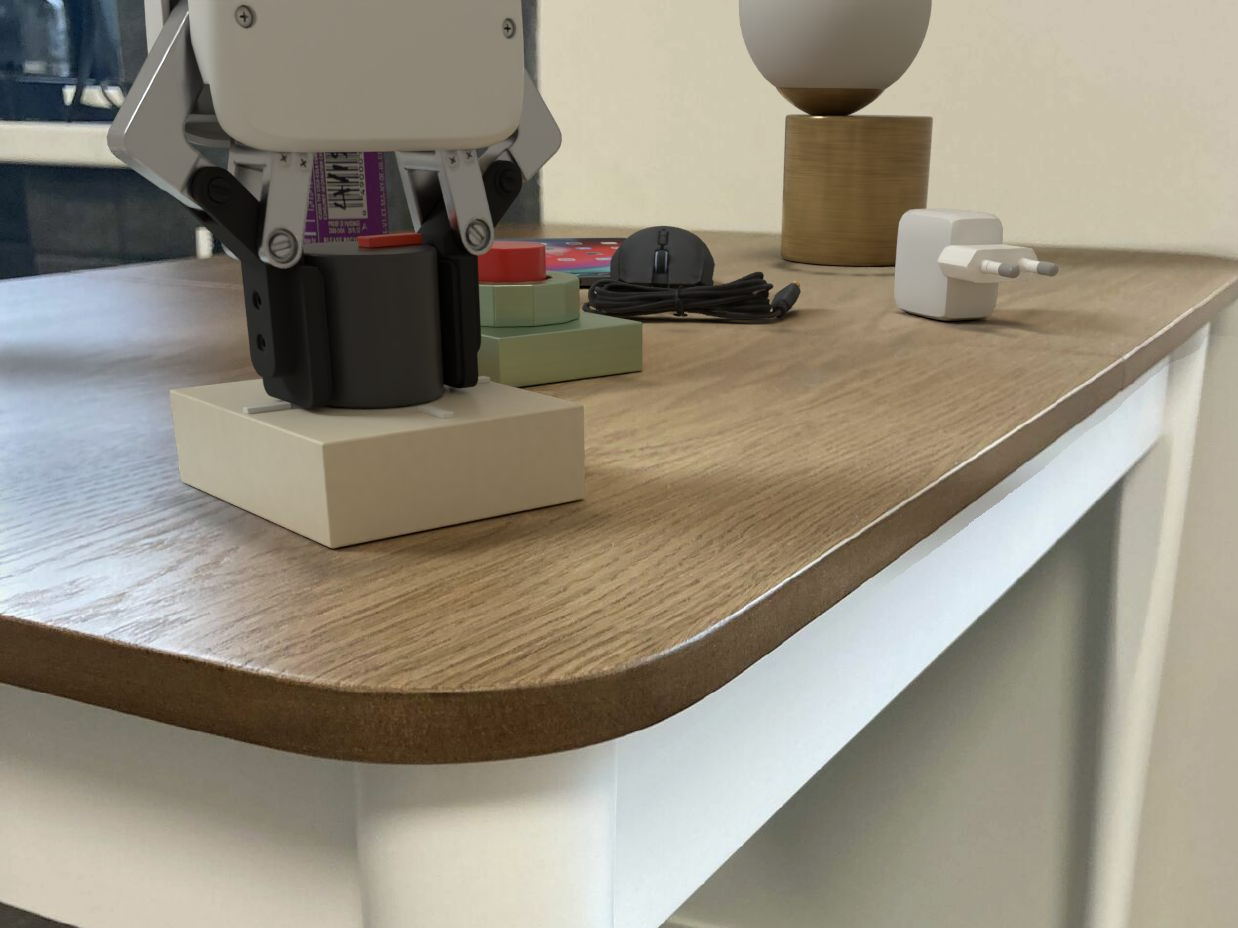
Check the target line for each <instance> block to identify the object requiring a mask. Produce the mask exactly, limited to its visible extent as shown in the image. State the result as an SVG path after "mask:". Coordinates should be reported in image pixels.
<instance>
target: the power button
mask: <svg viewBox="0 0 1238 928" xmlns="http://www.w3.org/2000/svg"><path fill="white" fill-rule="evenodd" d="M478 275H479V281H484V282H530V281H542V280H546V251H545V245H544V244H541V243H535V242H523V241H494V242H493V245H492V247H491V248H490V250H489V251H488V252H487V253H485V254H483V255H478Z"/></svg>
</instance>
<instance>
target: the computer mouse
mask: <svg viewBox="0 0 1238 928" xmlns="http://www.w3.org/2000/svg"><path fill="white" fill-rule="evenodd" d="M626 238H627V239H626V240H624V241H623V242H622V243H621V245H620V246H619V247H618V249H617V250H616V252H615V253H614V254H613V256H612V258H611V260H610V280H609V279H602V280H599V281H597V282H595V283H594V284H592V285H590V287H589V289H588V291H587V300H588V301H586V302H584V303H583V304H582V307H581V311H583V312H588V313H594V314H599V315H605V316H610V317H616V318H628V317H641V316H642V317H643V316H650V315H658V314H664V313H672V315H673V316H674V317H683V318H685V317H686V318H687V317H689V314H697V315H698V314H699V315H704V316H707V317H709V316H710V317H713V318H719V319H729V320H769V319H779V320H780V319H783V318H784V317H785V316H786V315H787V313H788V312H789V311H790V310H791V309H793V307H794V306H795V304H796V303H797V301H798V299H799V297H800V296H801V295H800V294H801V292H802V291H801V288H800V287H801V284H800V283H799V282H798V280H794V281H792V282H790V283H789V284H787V285H786V286H785V287H783V288H782V289H780V290H779V291H777V292H776V293H775V295H774V296H773V299H772V301H771V300H770V298H769V297H770V292H769V291H770V290H773V288H774V284H773V283H768V282H767V280H766V279H764V278H765V274H764V272H762V271H754V272H752V273H749V274H746V275H745V276H742V277H741V278H738V279H736V280H732V281H730V282H727V283H722V284H715V282H714V278H713V277H714V272H715V267H716V262H715V259H714V257H713V255H712V252H711V251H710V249H709V247H708V245H707V244H706V243H705V242H704V240H702V239H701V238H700V237H699V236H698V235H697V234H695V233H693V232H691V231H689V230H687V229H684V228H681V227H678V226H673V225H672V226H671V225H655V226H654V225H653V226H650V227H645V228H642V229H639V230H637V231H635V232H633V233H632V234H630V235H629V236H628V237H626ZM770 302H771V303H770ZM591 307H592V308H594V309H592V308H591ZM675 312H676V313H675ZM687 313H688V314H687Z"/></svg>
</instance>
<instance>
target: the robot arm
mask: <svg viewBox="0 0 1238 928" xmlns="http://www.w3.org/2000/svg"><path fill="white" fill-rule="evenodd" d="M143 2H144V3H143V4H144V20H145V33H146V45H147V46H146V47H147V57H146V58H145V60H144V62H143V64H142V66H141V68H140V69H139V72H138V73H137V75H136V77H135V80H134V81H133V83H132V85H131V87H130V88H129V91H128V93H127V94H126V96H125V98H124V100H123V102H122V104H121V106H120V107H119V110H118V112H117V113H116V115H115V117H114V119H113V121H112V123H111V124H110V127H109V128H108V131H107V135H106V145H107V147H108V149H109V152H110V154H112V155H113V156H114V157H115V158H116V159H118V160H119V161H120V162H122V163H123V164H125V165H126V166H128V167H129V168H130V169H132V170H133V171H135V172H136V173H138V174H140V176H141V177H144V178H145V179H146V180H148V181H149V182H150V183H152V184H153V185H155V186H156V187H158V188H159V189H160V190H162V191H165V192H167V194H169V195H171V196H172V197H174V198H175V199H176V200H177V202H178V203H179V204H180V205H181V206H182V207H183V208H184V209H185V210H186V211H187V212H188V213H189V214H190V215H191V216H192V217H194V219H196V220H197V221H198V222H199V223H200V224H201V225H202V226H203V227H204V228H205V229H206V230H208V232H210V233H211V234H212V235H213V236H214V237H215V238H216V239H217V240H218V241H219V242H220V244H221V247H222V249H223V251H224V252H225V254H226V255H227V256H229V257H230V258H231V259H234V260H236V261H240V269H241V279H242V287H243V289H242V290H243V297H244V299H243V300H244V308H245V316H246V317H245V318H246V327H247V337H248V347H249V355H250V361H251V364H252V368H253V369H254V371H255V373H256V374H257V375H258V376H259V377H261V379H263V385H264V389H265V391H266V393H267V394H268V395H269V396H271V397H274V398H277V399H280V400H283V401H286V402H290V403H293V404H296V405H299V406H302V407H305V408H317V407H325V406H326V405H327V404H328V401H331V400H332V397H333V390H332V378H331V366H330V353H329V341H328V329H327V316H326V304H325V292H324V281H323V276H322V274H321V272H320V271H319V270H318V267H313V266H307V265H305V262H304V250H303V243H304V234H305V226H306V217H307V209H308V201H309V192H310V184H311V175H312V167H313V159H314V152H383V151H384V152H394V156H395V159H396V164H397V167H398V171H399V175H400V179H401V184H402V187H403V190H404V195H405V198H406V199H405V200H406V203H407V206H408V211H409V214H410V215H409V216H410V218H411V222H412V227H413V229H414V233H420V234H422V244H425V245H430V246H433V247H435V248H436V250H437V265H438V284H439V303H440V322H441V342H442V361H443V380H444V385H447V386H451V387H455V388H459V389H460V388H468V387H474V386H476V384H477V382H478V356H477V353H478V351H479V349H480V346H481V322H480V299H479V275H478V255H483V254H485V253H487V252H488V251H489V250H490V248H491V247H492V245H493V242H494V239H495V236H496V235H495V228H496V227H497V225H498V224H499V223H500V221H501V220H502V218H503V217H504V216H505V214H506V213H507V211H508V210H509V209H510V207H511V206H512V204H513V203H514V202H515V201H516V199H517V198H518V196H519V195H520V192H521V190H522V186H523V184H524V183H525V182H529V181H530V180H531V179H532V178H533V177H534V176H535V175H536V174H537V173H539V171H540V170H541V169H542V168H543V167H544V166H545V165H546V164H547V163H548V162H549V161H550V160H551V159H552V158H554V155H556V154H557V153H558V152H559V150H560V148H561V146H562V142H563V138H562V137H563V136H562V135H563V134H562V132H561V129H560V127H559V125H558V123H557V122H556V120H555V118H554V116H553V115H552V113H551V111H550V109H549V107H548V105H547V104H546V102H545V100H544V99H543V97H542V94H541V93H540V91H539V89H538V87H537V86H536V84H535V82H534V80H533V78H532V77H531V75H530V73H529V71H528V70H527V68H526V66H525V51H524V49H525V46H524V45H525V43H524V42H525V41H524V28H523V10H522V9H523V8H522V0H143ZM192 144H194V145H198V146H204V147H210V148H223V149H224V148H225V149H226V148H227V149H229V151H228V161H227V169H226V168H224V167H221V166H217V165H216V164H215V163H214V162H212V161H211V160H210V159H208V158H206V157H205V156H204V155H203V153H202V152H201V151H199V150H198V149H197V148H195V147H194V146H193V145H192ZM484 148H487V149H486V150H485V151H484V152H483V154H481V155H480V156H479V157H478V153H477V150H478V149H484Z"/></svg>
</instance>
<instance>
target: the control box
mask: <svg viewBox="0 0 1238 928" xmlns="http://www.w3.org/2000/svg"><path fill="white" fill-rule="evenodd" d="M169 399H170V406H171V414H172V415H171V416H172V422H173V423H172V424H173V430H174V438H175V446H176V454H177V462H178V468H179V477H180V482H181V483H184V484H186V485H188V486H190V487H193V488H194V489H197V490H199V491H202V492H204V493H206V494H208V495H211V496H213V497H215V498H217V499H219V500H222V501H224V502H226V503H229V504H231V505H232V506H234V507H235V506H236V507H237V508H239V509H243V510H245V511H247V512H249V513H251V514H253V515H255V516H258V517H260V518H263V519H264V520H267V521H269V522H271V523H273V524H276V525H278V526H279V527H282V528H285V529H287V530H289V531H291V532H293V533H295V534H298V535H300V536H303V537H305V538H307V539H310V540H311V541H313V542H316V543H319V544H320V545H323V546H325V547H327V548H330V549H338V548H342V547H347V546H348V547H349V546H353V545H358V544H363V543H368V542H373V541H378V540H383V539H388V538H392V537H398V536H404V535H408V534H413V533H417V532H422V531H428V530H434V529H437V528H443V527H448V526H449V527H450V526H454V525H458V524H463V523H468V522H474V521H479V520H485V519H489V518H493V517H498V516H505V515H509V514H513V513H519V512H524V511H529V510H534V509H540V508H544V507H549V506H555V505H561V504H564V503H571V502H574V501H580V500H583V499H585V498H586V474H585V473H586V468H585V467H586V466H585V465H586V464H585V463H586V462H585V460H586V459H585V458H586V457H585V413H584V412H585V407H584V404H582V403H579V402H575V401H571V400H568V399H563V398H559V397H555V396H551V395H547V394H543V393H540V392H537V391H536V392H535V391H531V390H528V389H523V388H521V387H517V388H516V387H512V386H508V385H504V384H500V383H496V382H492V381H490V377H486V376H480V377H478V382H477V384H476V386H474V387H468V388H460V389H459V388H455V387H451V386H447V385H444V393H443V395H442V396H441V397H439V398H437V399H434V400H431V401H428V402H424V403H419V404H413V405H406V406H397V407H383V408H346V407H333V406H325V407H317V408H305V407H302V406H299V405H296V404H293V403H290V402H286V401H283V400H280V399H277V398H274V397H271V396H269V395H268V394H267V393H266V391H265V389H264V385H263V378H257V379H248V380H239V381H232V382H231V381H230V382H223V383H215V384H206V385H198V386H197V385H196V386H190V387H189V386H188V387H180V388H173V389H169Z"/></svg>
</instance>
